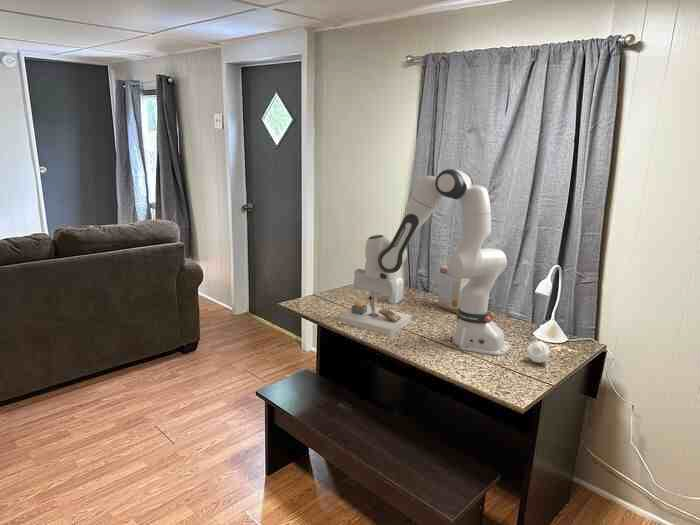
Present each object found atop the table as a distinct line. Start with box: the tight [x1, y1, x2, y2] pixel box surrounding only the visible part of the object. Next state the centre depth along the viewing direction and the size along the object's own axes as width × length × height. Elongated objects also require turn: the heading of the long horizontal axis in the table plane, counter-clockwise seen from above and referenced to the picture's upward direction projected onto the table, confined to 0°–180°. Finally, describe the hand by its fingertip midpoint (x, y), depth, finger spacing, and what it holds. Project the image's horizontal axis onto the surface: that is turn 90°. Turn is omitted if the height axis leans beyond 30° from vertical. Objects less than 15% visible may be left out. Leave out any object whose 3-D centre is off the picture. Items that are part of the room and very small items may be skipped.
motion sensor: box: [526, 340, 551, 364], centre depth 181 cm, size 8×8×8 cm
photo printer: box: [388, 276, 404, 305], centre depth 244 cm, size 10×4×12 cm, turn 149°
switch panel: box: [338, 303, 412, 337], centre depth 216 cm, size 26×20×6 cm
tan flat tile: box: [378, 307, 401, 322], centre depth 212 cm, size 9×5×1 cm, turn 59°
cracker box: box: [437, 264, 470, 315], centre depth 233 cm, size 14×6×21 cm, turn 34°
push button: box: [355, 301, 364, 308], centre depth 220 cm, size 3×3×2 cm
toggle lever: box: [368, 295, 375, 313], centre depth 216 cm, size 2×2×8 cm
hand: (374, 301), depth 215 cm, fingers closed
